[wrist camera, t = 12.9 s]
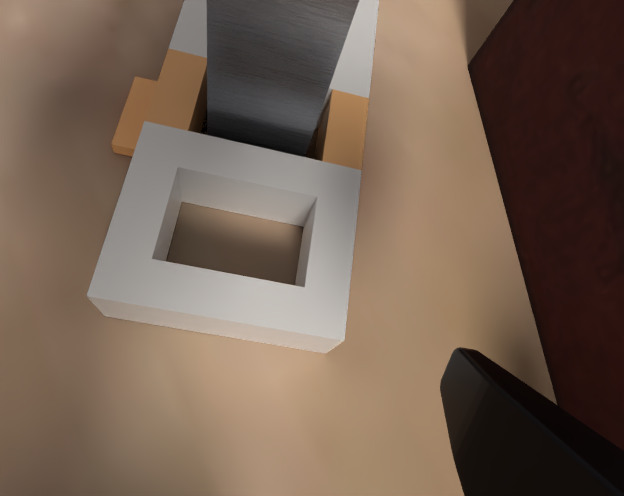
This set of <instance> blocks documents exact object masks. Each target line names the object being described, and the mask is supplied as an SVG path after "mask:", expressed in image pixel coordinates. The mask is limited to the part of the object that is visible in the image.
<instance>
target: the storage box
mask: <svg viewBox="0 0 624 496" xmlns="http://www.w3.org/2000/svg"><path fill="white" fill-rule="evenodd" d="M468 70H469V74H470V78H471V82H472V85H473V89H474V93H475V97H476V100H477V104H478V108H479V112H480V115H481V119H482V123H483V127H484V131H485V134H486V138H487V142H488V146H489V149H490V153H491V157H492V161H493V164H494V168H495V172H496V176H497V179H498V183H499V187H500V191H501V194H502V198H503V202H504V206H505V209H506V213H507V217H508V221H509V224H510V228H511V232H512V236H513V239H514V243H515V247H516V251H517V255H518V258H519V262H520V266H521V270H522V273H523V277H524V281H525V285H526V288H527V292H528V296H529V300H530V303H531V307H532V311H533V315H534V318H535V322H536V326H537V330H538V333H539V337H540V341H541V345H542V348H543V352H544V356H545V360H546V364H547V367H548V371H549V375H550V379H551V382H552V386H553V390H554V394H555V397H556V401H557V405H558V406H559V407H560V408H562V409H563V410H565V411H566V412H568V413H569V414H571V415H572V416H574V417H575V418H577V419H578V420H579V421H581V422H582V423H584V424H585V425H587V426H588V427H590V428H591V429H593V430H594V431H596V432H597V433H598V434H600V435H601V436H603V437H604V438H606V439H607V440H609V441H610V442H612V443H613V444H615V445H616V446H618V447H619V448H620V449H622V450H623V451H624V0H514V1H513V2H512V4H511V5H510V6H509V8H508V9H507V11H506V12H505V14H504V15H503V16H502V18H501V19H500V21H499V22H498V23H497V25H496V26H495V28H494V29H493V31H492V32H491V33H490V35H489V36H488V38H487V39H486V41H485V42H484V43H483V45H482V46H481V48H480V49H479V50H478V52H477V53H476V55H475V56H474V58H473V59H472V60H471V62H470V63H469V65H468Z"/></svg>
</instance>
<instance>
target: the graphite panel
mask: <svg viewBox="0 0 624 496" xmlns="http://www.w3.org/2000/svg"><path fill="white" fill-rule="evenodd" d="M358 3H359V0H207V135H209V136H213V137H218V138H222V139H226V140H231V141H235V142H240V143H244V144H248V145H253V146H257V147H262V148H266V149H270V150H275V151H279V152H284V153H288V154H293V155H297V156H301V157H305V156H306V153H307V150H308V147H309V144H310V141H311V138H312V135H313V133H314V130H315V127H316V124H317V121H318V118H319V115H320V112H321V109H322V107H323V104H324V101H325V98H326V95H327V92H328V89H329V86H330V84H331V81H332V78H333V75H334V72H335V69H336V66H337V63H338V60H339V58H340V55H341V52H342V49H343V46H344V43H345V40H346V37H347V34H348V32H349V29H350V26H351V23H352V20H353V17H354V14H355V11H356V8H357V6H358Z"/></svg>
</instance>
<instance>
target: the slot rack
mask: <svg viewBox="0 0 624 496" xmlns="http://www.w3.org/2000/svg"><path fill="white" fill-rule="evenodd" d="M378 5H379V0H359V3H358V6H357V8H356V11H355V14H354V17H353V20H352V23H351V26H350V29H349V32H348V34H347V37H346V40H345V43H344V46H343V49H342V52H341V55H340V58H339V60H338V63H337V66H336V69H335V72H334V75H333V78H332V81H331V84H330V86H329V89H328V92H327V95H326V98H325V101H324V104H323V107H322V109H321V112H320V115H319V118H318V121H317V124H316V127H315V128H317V129H318V135H317V142H316V148H315V155H314V159H310V158H306V157H301V156H297V155H293V154H288V153H284V152H279V151H275V150H270V149H266V148H262V147H257V146H253V145H248V144H244V143H240V142H235V141H231V140H226V139H222V138H218V137H213V136H209V135H204V134H200V133H201V129H202V125H203V122H204V118H205V114H206V111H207V0H184V3H183V6H182V9H181V12H180V15H179V18H178V21H177V24H176V27H175V30H174V33H173V36H172V39H171V42H170V45H169V48H168V51H167V54H166V57H165V60H164V63H163V66H162V69H161V72H160V75H159V78H158V81H154V80H150V79H145V78H141V77H137V76H135V78H134V81H133V84H132V87H131V89H130V92H129V95H128V98H127V101H126V103H125V106H124V109H123V112H122V115H121V117H120V120H119V123H118V126H117V129H116V131H115V134H114V137H113V140H112V143H111V146H112V149H113V151H114V153H118V154H122V155H127V156H132V160H131V163H130V166H129V169H128V172H127V175H126V178H125V181H124V184H123V187H122V190H121V193H120V196H119V199H118V202H117V205H116V208H115V211H114V214H113V217H112V220H111V223H110V226H109V229H108V232H107V235H106V238H105V241H104V244H103V247H102V250H101V253H100V256H99V259H98V263H97V266H96V269H95V272H94V275H93V278H92V281H91V284H90V287H89V290H88V293H87V297H88V298H89V299H90V301H91V302H92V303H93V304H94V305H95V306H96V307H97V308H98V310H99V311H100V312H101V313H102V314H103V315H104V316H106V317H112V318H117V319H123V320H129V321H135V322H141V323H147V324H153V325H159V326H165V327H171V328H177V329H183V330H189V331H195V332H200V333H206V334H212V335H218V336H224V337H230V338H236V339H242V340H248V341H254V342H260V343H266V344H272V345H278V346H283V347H289V348H295V349H301V350H307V351H313V352H319V353H325V354H326V353H327V352H329V351H330V350H332V349H333V348H335V347H336V346H337V345H339V344H340V343H342V342H343V341H344V340H345V330H346V320H347V310H348V300H349V290H350V281H351V271H352V261H353V251H354V241H355V231H356V221H357V212H358V202H359V192H360V182H361V172H362V162H363V153H364V143H365V133H366V123H367V113H368V103H369V94H370V84H371V74H372V64H373V54H374V44H375V35H376V25H377V15H378ZM182 202H185V203H190V204H195V205H200V206H205V207H210V208H214V209H219V210H224V211H229V212H234V213H239V214H244V215H248V216H253V217H258V218H263V219H268V220H273V221H278V222H282V223H287V224H292V225H297V226H302V227H304V228H303V235H302V241H301V248H300V255H299V261H298V268H297V275H296V281H295V285H289V284H284V283H279V282H273V281H268V280H263V279H257V278H252V277H247V276H241V275H236V274H231V273H225V272H220V271H215V270H209V269H204V268H199V267H193V266H188V265H183V264H177V263H172V262H167V261H166V259H167V255H168V251H169V248H170V244H171V240H172V237H173V233H174V229H175V225H176V222H177V218H178V214H179V211H180V207H181V203H182Z"/></svg>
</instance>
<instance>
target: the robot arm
mask: <svg viewBox="0 0 624 496" xmlns="http://www.w3.org/2000/svg"><path fill="white" fill-rule="evenodd" d="M440 391H441V397H442V402H443V407H444V413H445V418H446V423H447V428H448V434H449V439H450V444H451V449H452V454H453V458H454V462H455V465H456V469H457V472H458V476H459V479H460V482H461V486H462V489H463V492H464V496H624V451H623V450H622V449H620V448H619V447H618V446H616V445H615V444H613V443H612V442H610V441H609V440H607V439H606V438H604V437H603V436H601V435H600V434H598V433H597V432H596V431H594V430H593V429H591V428H590V427H588V426H587V425H585V424H584V423H582V422H581V421H579V420H578V419H577V418H575V417H574V416H572V415H571V414H569V413H568V412H566V411H565V410H563V409H562V408H560V407H559V406H558V405H556V404H555V403H553V402H552V401H550V400H549V399H547V398H546V397H544V396H543V395H541V394H540V393H539V392H537V391H536V390H534V389H533V388H531V387H530V386H528V385H527V384H525V383H524V382H522V381H521V380H519V379H518V378H517V377H515V376H514V375H512V374H511V373H509V372H508V371H506V370H505V369H503V368H502V367H500V366H499V365H498V364H496V363H495V362H493V361H492V360H490V359H489V358H487V357H486V356H484V355H483V354H481V353H480V352H478V351H477V350H473V349H467V348H462V347H459V348H457V349H455V350H454V351H453V353H452V355H451V358H450V360H449V362H448V365H447V367H446V369H445V372H444V374H443V377H442V379H441V384H440Z"/></svg>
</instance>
